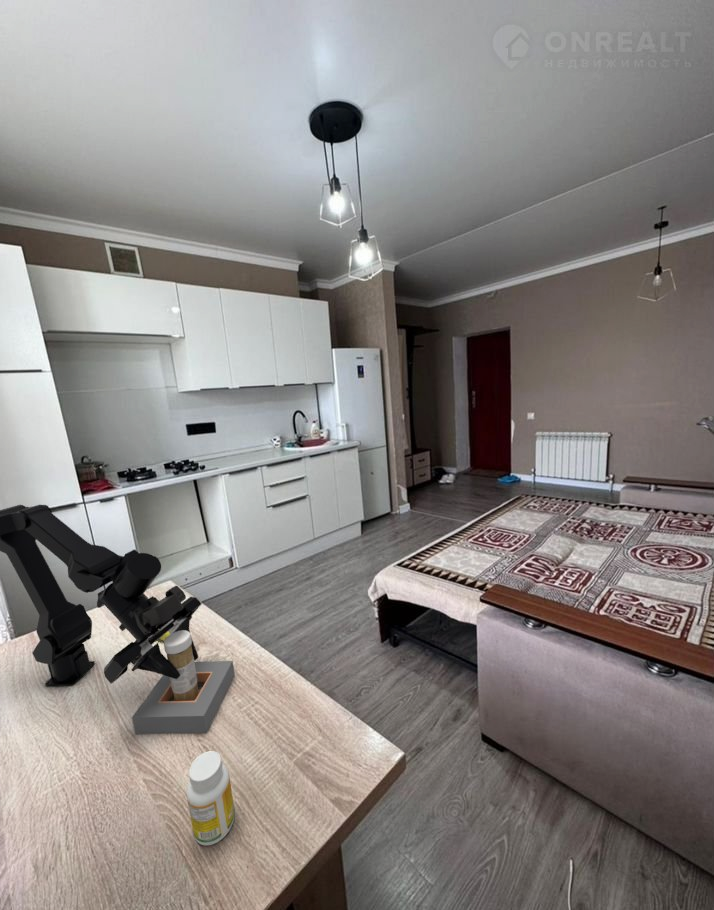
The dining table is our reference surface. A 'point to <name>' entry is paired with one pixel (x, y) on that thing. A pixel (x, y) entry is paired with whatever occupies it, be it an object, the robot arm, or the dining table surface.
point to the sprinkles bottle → (182, 665)
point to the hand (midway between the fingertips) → (188, 667)
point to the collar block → (185, 702)
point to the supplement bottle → (210, 798)
